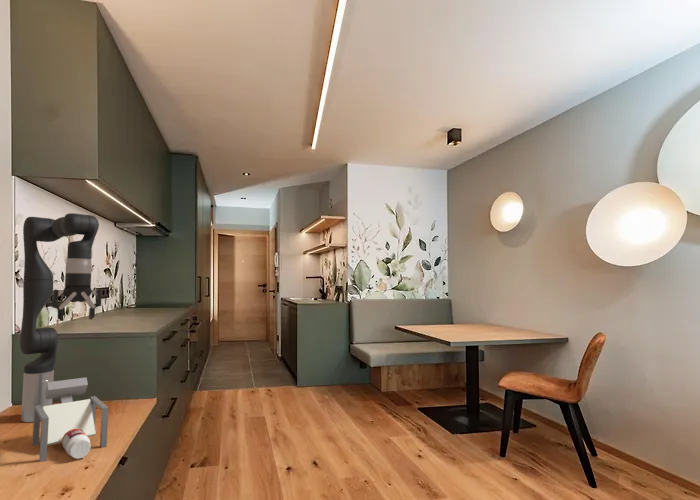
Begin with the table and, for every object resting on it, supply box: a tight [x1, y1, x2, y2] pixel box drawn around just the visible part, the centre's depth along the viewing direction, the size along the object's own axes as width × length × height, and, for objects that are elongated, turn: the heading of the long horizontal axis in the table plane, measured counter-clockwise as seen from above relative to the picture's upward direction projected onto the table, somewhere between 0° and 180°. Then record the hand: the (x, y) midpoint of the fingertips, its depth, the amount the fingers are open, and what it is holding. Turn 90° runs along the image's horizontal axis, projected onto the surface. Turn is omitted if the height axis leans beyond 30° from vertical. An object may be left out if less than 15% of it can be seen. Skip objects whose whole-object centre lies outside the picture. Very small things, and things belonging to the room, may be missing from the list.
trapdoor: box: [43, 377, 97, 446], centre depth 138 cm, size 19×13×5 cm
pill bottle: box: [61, 428, 91, 459], centre depth 130 cm, size 6×6×11 cm
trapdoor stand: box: [31, 395, 109, 463], centre depth 136 cm, size 17×17×12 cm
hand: (76, 320), depth 147 cm, fingers open, 8 cm apart
